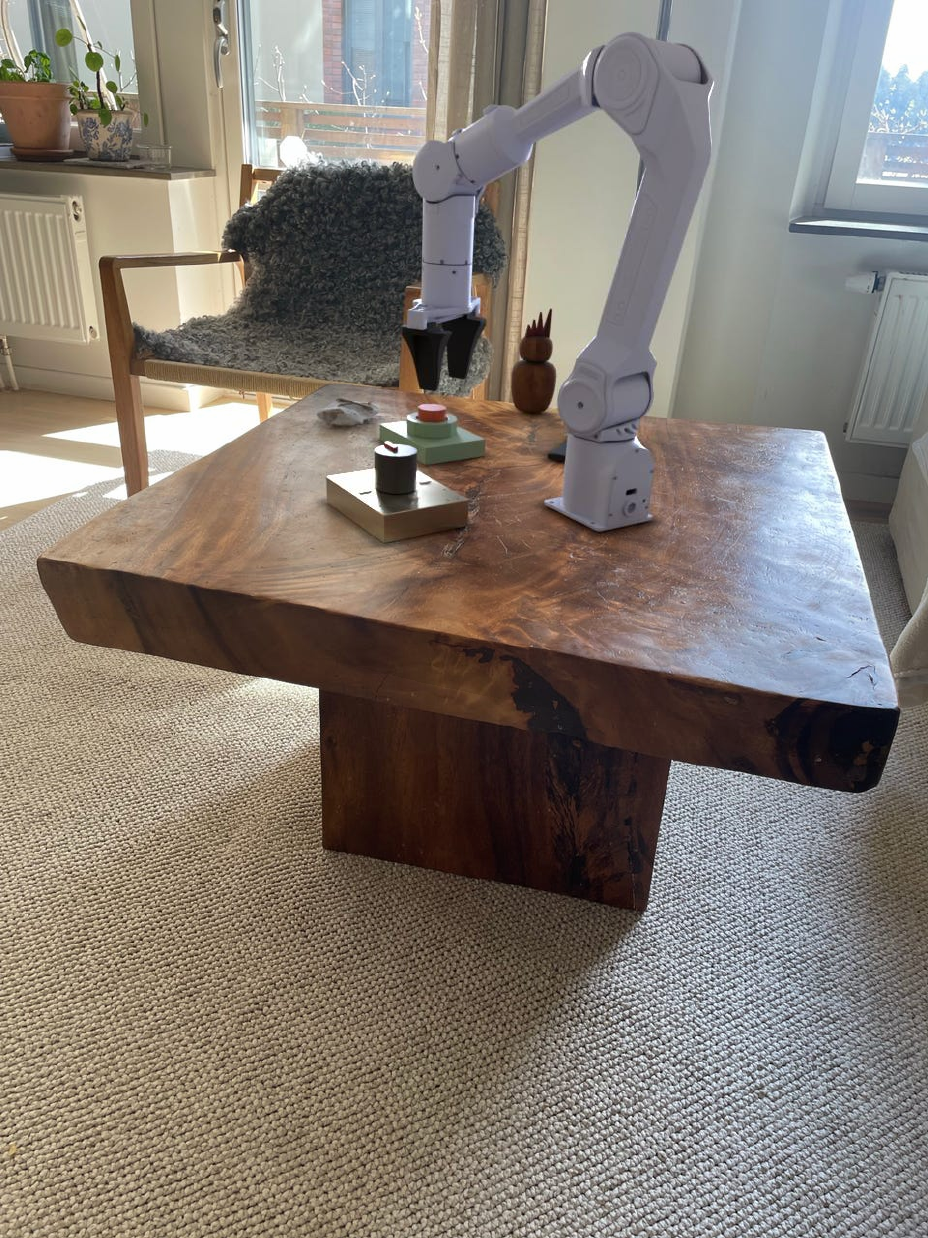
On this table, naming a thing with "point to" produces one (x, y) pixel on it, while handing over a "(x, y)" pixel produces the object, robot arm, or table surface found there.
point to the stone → (347, 412)
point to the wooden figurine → (534, 369)
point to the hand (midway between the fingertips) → (443, 383)
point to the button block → (434, 439)
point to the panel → (397, 506)
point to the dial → (395, 468)
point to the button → (432, 413)
